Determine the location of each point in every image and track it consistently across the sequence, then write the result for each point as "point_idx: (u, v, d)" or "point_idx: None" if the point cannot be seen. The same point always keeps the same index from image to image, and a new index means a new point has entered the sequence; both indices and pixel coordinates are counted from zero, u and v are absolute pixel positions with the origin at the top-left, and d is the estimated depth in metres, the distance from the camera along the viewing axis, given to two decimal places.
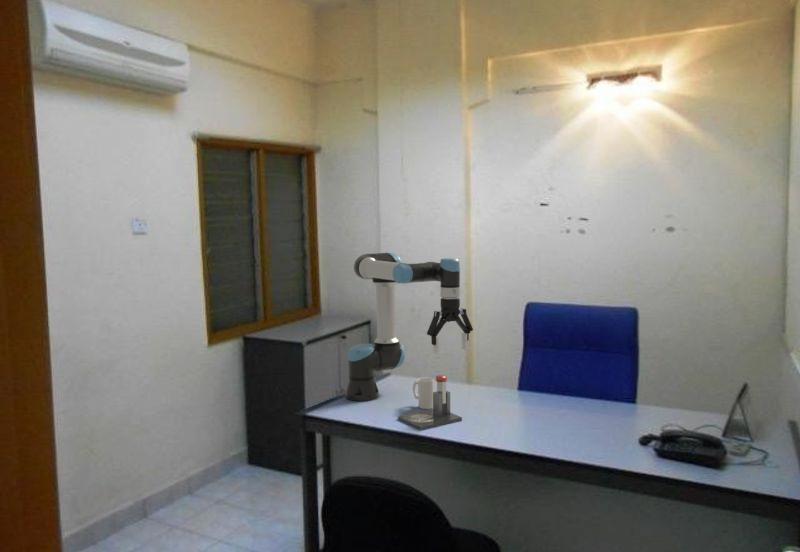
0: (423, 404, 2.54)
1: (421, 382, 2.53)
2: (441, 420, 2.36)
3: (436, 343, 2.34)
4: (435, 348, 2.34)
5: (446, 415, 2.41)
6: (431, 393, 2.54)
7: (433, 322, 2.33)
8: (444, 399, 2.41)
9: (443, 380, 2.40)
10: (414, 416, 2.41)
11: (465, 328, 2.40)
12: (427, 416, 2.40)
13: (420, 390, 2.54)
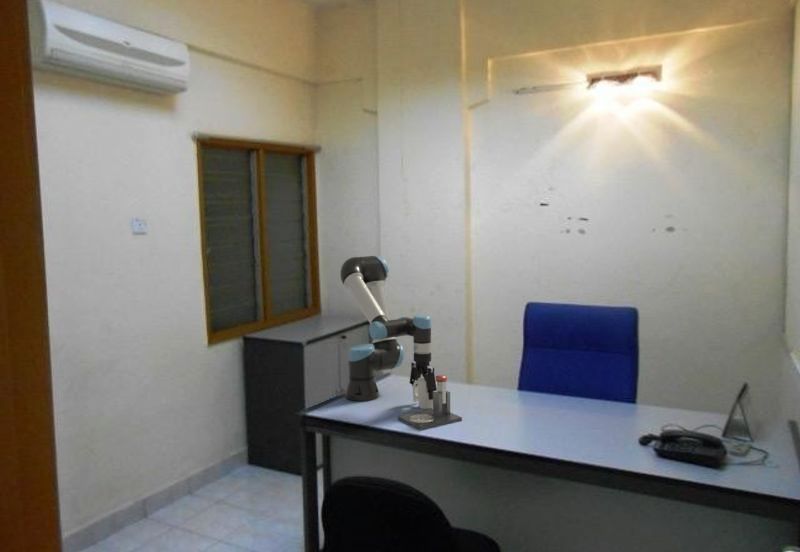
0: (423, 404, 2.54)
1: (421, 382, 2.53)
2: (441, 420, 2.36)
3: None
4: None
5: (446, 415, 2.41)
6: None
7: None
8: (444, 399, 2.41)
9: (443, 380, 2.40)
10: (414, 416, 2.41)
11: (427, 386, 2.52)
12: (427, 416, 2.40)
13: (420, 390, 2.54)
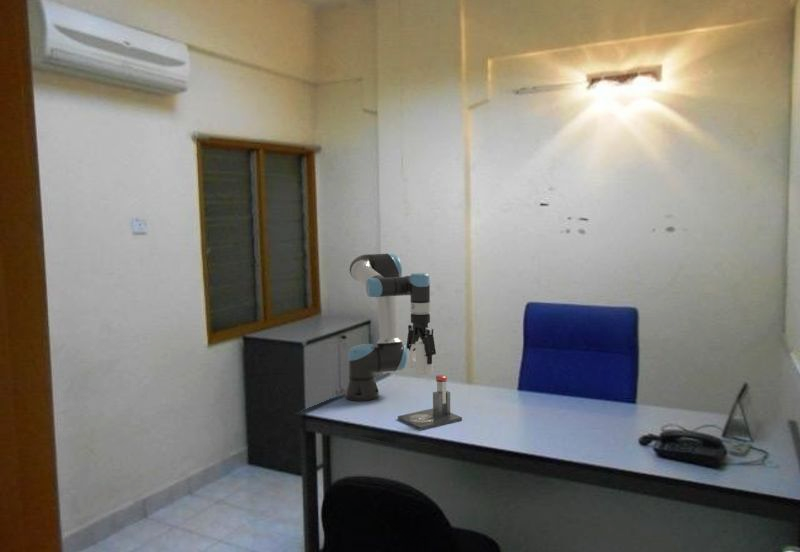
0: (421, 369, 2.32)
1: (419, 345, 2.32)
2: (441, 420, 2.36)
3: None
4: None
5: (446, 415, 2.41)
6: None
7: None
8: (444, 399, 2.41)
9: (443, 380, 2.40)
10: (414, 416, 2.41)
11: (425, 350, 2.31)
12: (427, 416, 2.40)
13: (418, 354, 2.33)
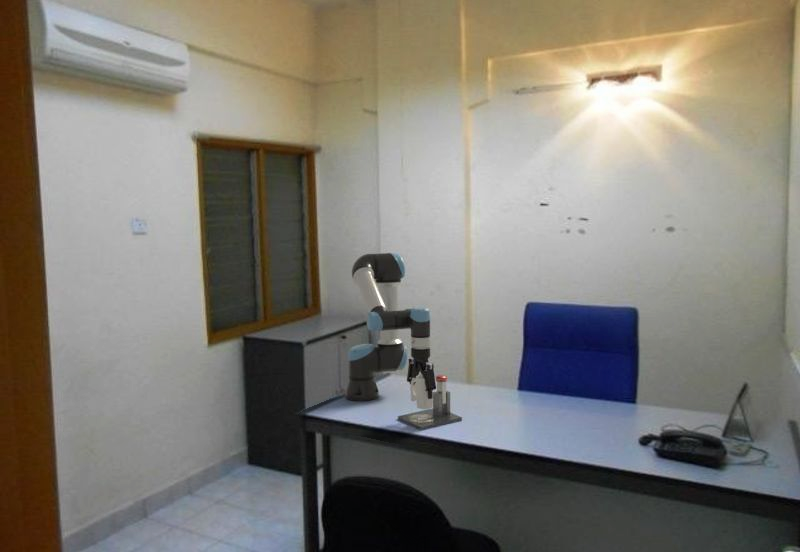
0: (421, 403, 2.34)
1: (419, 380, 2.33)
2: (441, 420, 2.36)
3: None
4: None
5: (446, 415, 2.41)
6: None
7: None
8: (444, 399, 2.41)
9: (443, 380, 2.40)
10: (414, 416, 2.41)
11: (426, 384, 2.32)
12: (427, 416, 2.40)
13: (418, 388, 2.34)
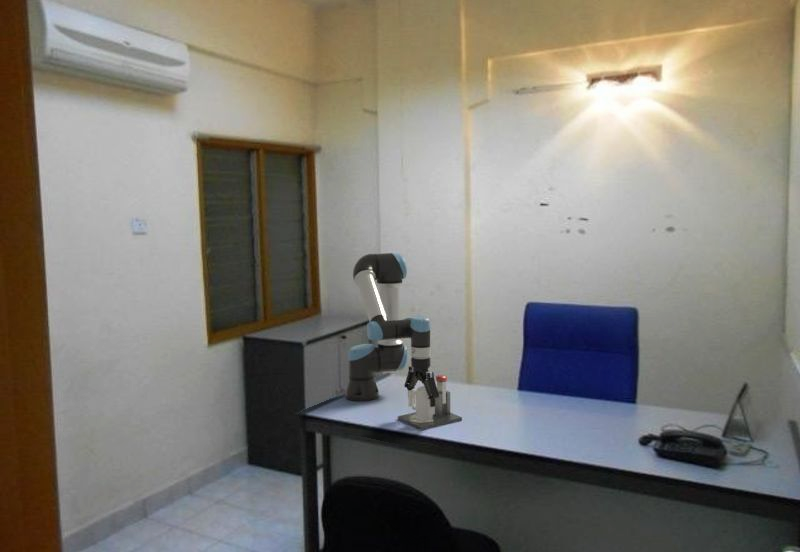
0: (421, 416, 2.34)
1: (419, 392, 2.33)
2: (441, 420, 2.36)
3: None
4: None
5: (446, 415, 2.41)
6: None
7: None
8: (444, 399, 2.41)
9: (443, 380, 2.40)
10: (414, 416, 2.41)
11: (428, 393, 2.31)
12: None
13: (418, 401, 2.34)
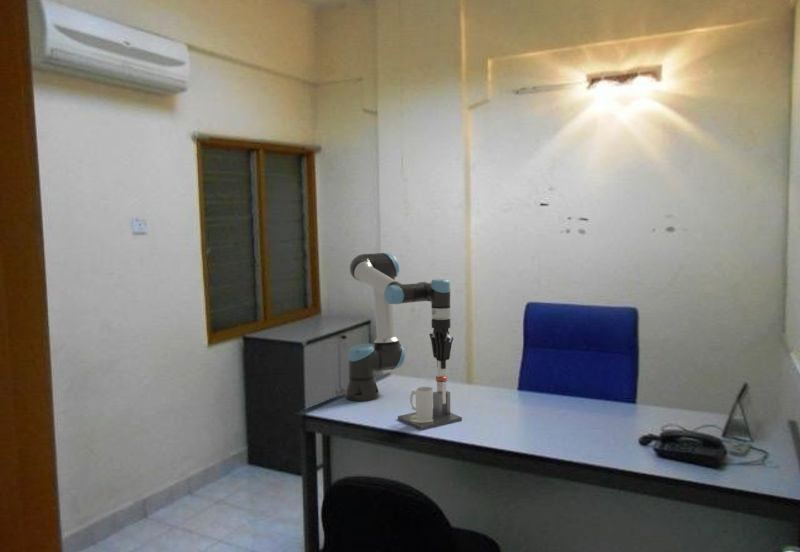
0: (421, 415, 2.34)
1: (419, 392, 2.34)
2: (441, 420, 2.36)
3: None
4: None
5: (446, 415, 2.41)
6: (430, 404, 2.34)
7: None
8: (444, 399, 2.41)
9: (443, 380, 2.40)
10: (414, 416, 2.41)
11: (440, 355, 2.40)
12: None
13: (418, 401, 2.34)
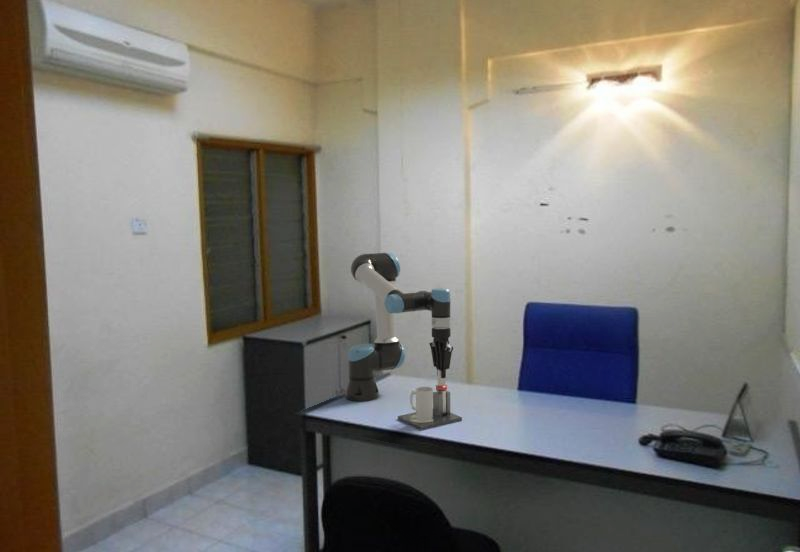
0: (421, 415, 2.34)
1: (419, 392, 2.34)
2: (441, 420, 2.36)
3: None
4: None
5: (446, 415, 2.41)
6: (430, 404, 2.34)
7: None
8: (444, 408, 2.42)
9: (443, 389, 2.40)
10: (414, 416, 2.41)
11: (440, 364, 2.40)
12: None
13: (418, 401, 2.34)
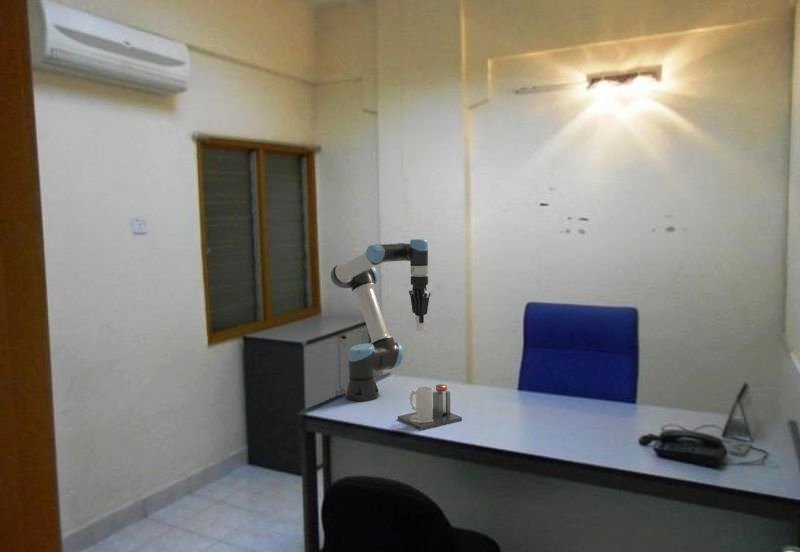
0: (421, 415, 2.34)
1: (419, 392, 2.34)
2: (441, 420, 2.36)
3: None
4: None
5: (446, 415, 2.41)
6: (430, 404, 2.34)
7: None
8: (444, 408, 2.42)
9: (443, 389, 2.40)
10: (414, 416, 2.41)
11: (419, 310, 2.56)
12: None
13: (418, 401, 2.34)
